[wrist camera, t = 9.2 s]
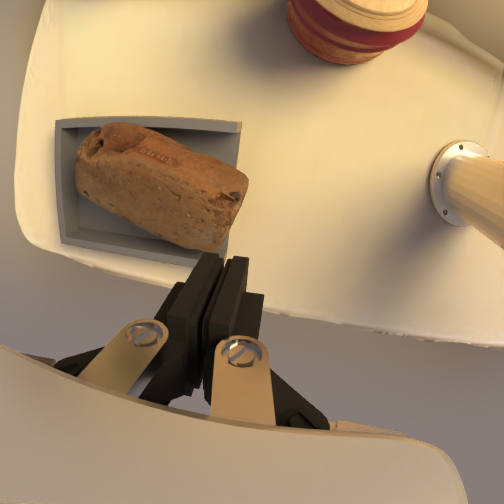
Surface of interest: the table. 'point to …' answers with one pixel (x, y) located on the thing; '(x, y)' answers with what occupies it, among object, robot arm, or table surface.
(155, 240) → the tray
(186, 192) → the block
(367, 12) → the canister
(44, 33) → the table surface
